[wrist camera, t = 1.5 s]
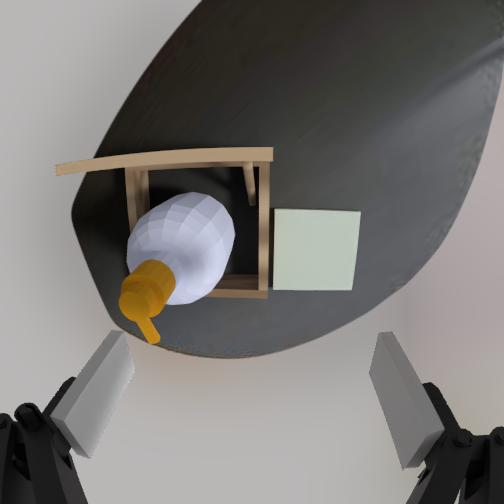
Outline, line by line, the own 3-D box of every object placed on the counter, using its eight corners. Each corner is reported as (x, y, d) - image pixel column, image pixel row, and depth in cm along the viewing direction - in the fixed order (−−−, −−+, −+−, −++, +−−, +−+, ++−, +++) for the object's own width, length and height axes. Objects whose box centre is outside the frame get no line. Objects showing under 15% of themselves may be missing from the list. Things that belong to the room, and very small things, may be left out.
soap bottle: (186, 264, 44) (118, 371, 22) (158, 201, 41) (53, 263, 19) (250, 242, 43) (229, 349, 20) (223, 174, 40) (163, 211, 17)
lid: (138, 153, 39) (55, 165, 21) (270, 148, 38) (272, 147, 20) (138, 160, 39) (56, 175, 22) (270, 155, 38) (272, 161, 21)
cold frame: (139, 157, 39) (97, 163, 28) (269, 152, 38) (269, 153, 27) (150, 278, 46) (119, 317, 34) (267, 282, 45) (267, 326, 33)
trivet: (274, 208, 41) (274, 209, 40) (359, 210, 40) (360, 211, 39) (273, 287, 45) (273, 289, 44) (350, 287, 44) (351, 289, 44)
